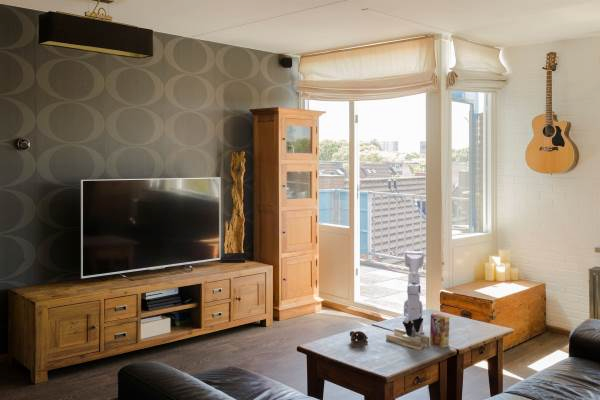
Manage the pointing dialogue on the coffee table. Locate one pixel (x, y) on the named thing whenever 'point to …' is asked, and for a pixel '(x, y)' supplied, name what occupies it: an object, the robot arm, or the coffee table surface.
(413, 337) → the slab with grey handle
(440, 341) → the candy box
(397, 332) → the board
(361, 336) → the pottery mug
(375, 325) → the coffee table surface
